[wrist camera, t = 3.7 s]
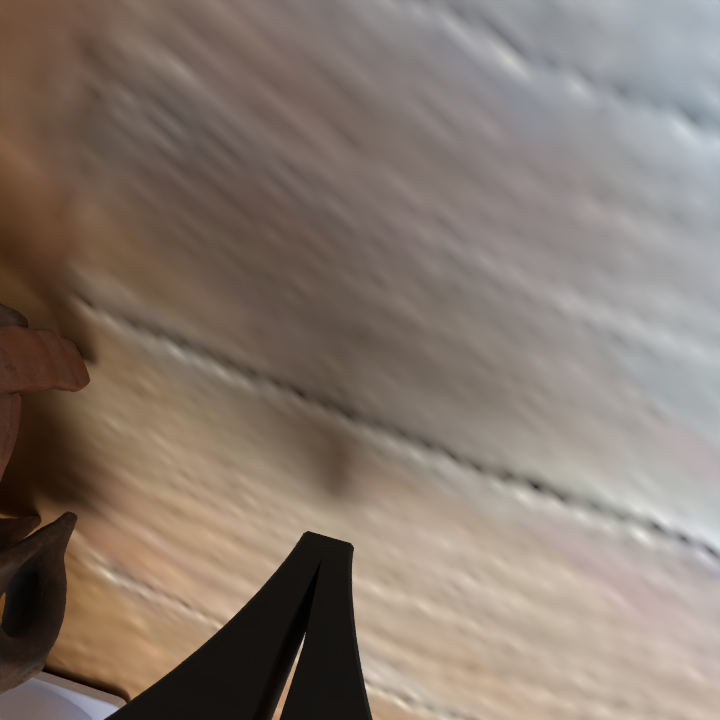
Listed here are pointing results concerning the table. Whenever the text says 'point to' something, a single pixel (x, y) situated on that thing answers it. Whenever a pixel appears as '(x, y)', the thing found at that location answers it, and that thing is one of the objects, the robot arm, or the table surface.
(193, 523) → the table surface
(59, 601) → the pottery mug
